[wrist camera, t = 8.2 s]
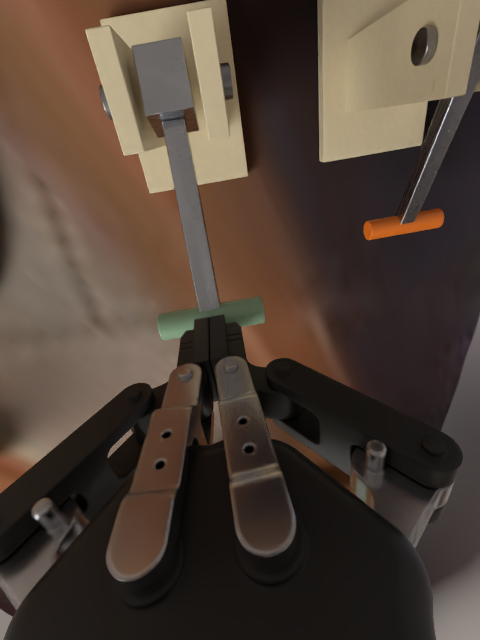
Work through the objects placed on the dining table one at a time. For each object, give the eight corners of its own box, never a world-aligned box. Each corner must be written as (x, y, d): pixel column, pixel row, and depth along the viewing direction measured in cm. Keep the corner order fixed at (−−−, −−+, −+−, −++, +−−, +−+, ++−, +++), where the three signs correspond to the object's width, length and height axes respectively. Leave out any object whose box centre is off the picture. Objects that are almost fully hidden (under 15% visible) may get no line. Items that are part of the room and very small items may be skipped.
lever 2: (426, 215, 25) (441, 235, 24) (359, 227, 25) (370, 248, 24) (542, -23, 14) (582, -11, 13) (423, -2, 14) (451, 12, 13)
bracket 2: (414, 144, 27) (561, 153, 16) (319, 161, 27) (398, 182, 16) (437, -35, 22) (693, -222, 10) (316, -14, 22) (438, -176, 10)
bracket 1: (246, 174, 27) (274, 204, 16) (151, 191, 27) (112, 233, 16) (224, 3, 22) (243, -141, 10) (104, 24, 22) (-10, -95, 10)
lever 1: (262, 318, 18) (267, 326, 15) (168, 335, 18) (158, 345, 15) (220, 65, 16) (219, 29, 13) (113, 84, 16) (92, 51, 13)
